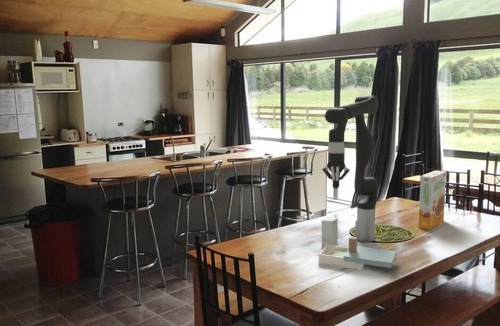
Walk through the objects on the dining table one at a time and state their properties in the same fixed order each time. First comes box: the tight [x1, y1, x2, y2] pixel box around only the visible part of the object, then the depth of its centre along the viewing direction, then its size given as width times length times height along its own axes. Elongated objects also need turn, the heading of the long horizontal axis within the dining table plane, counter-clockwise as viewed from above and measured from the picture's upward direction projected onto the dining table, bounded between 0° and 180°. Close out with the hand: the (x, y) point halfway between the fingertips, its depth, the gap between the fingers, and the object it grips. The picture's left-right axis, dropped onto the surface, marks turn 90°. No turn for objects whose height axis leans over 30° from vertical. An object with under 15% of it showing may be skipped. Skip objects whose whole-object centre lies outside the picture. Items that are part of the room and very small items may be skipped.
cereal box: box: [418, 170, 447, 231], centre depth 262 cm, size 22×6×30 cm, turn 138°
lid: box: [344, 235, 398, 269], centre depth 203 cm, size 20×16×9 cm
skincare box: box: [321, 216, 339, 250], centre depth 227 cm, size 8×6×15 cm
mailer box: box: [318, 245, 367, 271], centre depth 209 cm, size 20×14×4 cm
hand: (335, 188), depth 212 cm, fingers closed
